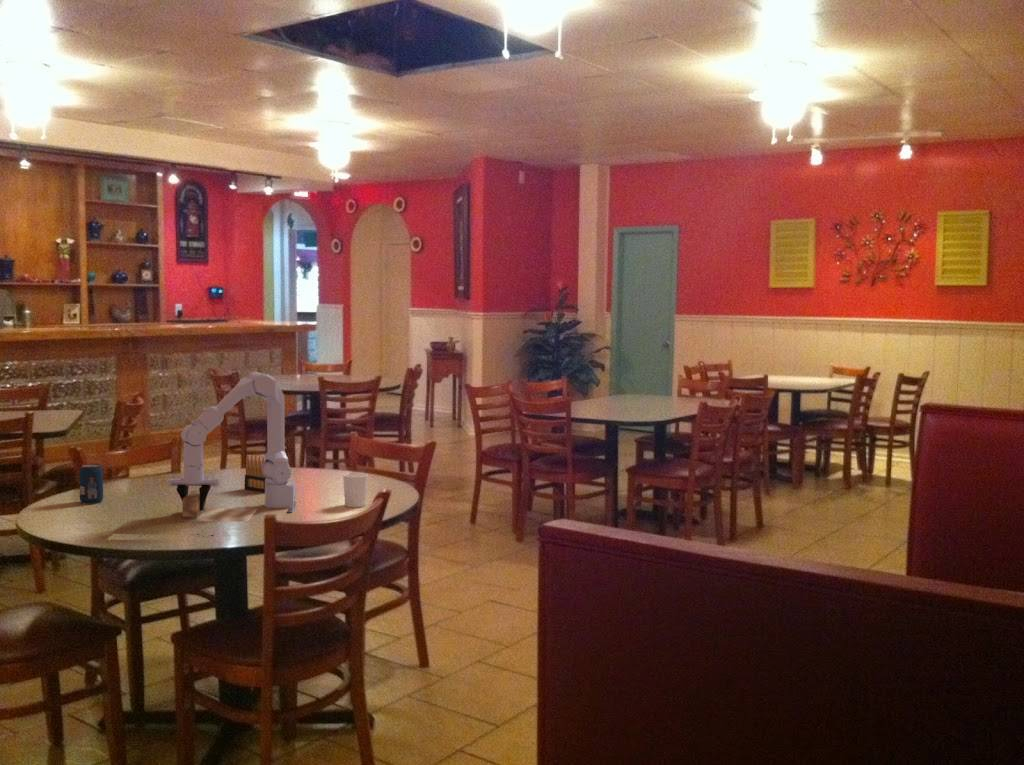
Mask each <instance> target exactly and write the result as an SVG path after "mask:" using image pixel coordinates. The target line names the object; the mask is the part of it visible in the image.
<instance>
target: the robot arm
mask: <svg viewBox="0 0 1024 765" xmlns="http://www.w3.org/2000/svg"><path fill="white" fill-rule="evenodd" d="M256 394H257V395H259V397H261V398H262V399H263V400H264V401H266V417H267V418H266V422H267V423H266V424H267V427H266V430H267V436H266V438H267V439H266V440H267V441H266V442H267V446H266V447H267V451H266V454H265V455H264V459H265V461H264V464H263V466H262V472H263V475H264V476H265V477H266V479H265V493H264V507H265V508H269V509H280V508H283V509H286V508H287V511H286V513H293V512H294V511H295V509H296V507H297V501H296V500H297V498H296V497H297V496H296V495H297V491H296V490H297V488H296V482H294V481H293V482H291V481H289V479H290V478H291V476H292V468H291V466H290V465H289V458H288V456H287V454H286V450H285V446H286V444H285V443H286V441H285V440H286V438H285V434H286V433H285V430H286V428H285V424H286V423H285V394H284V392H283V391H282V390H281V388H280V386H279V384H278V382H277V379H275V377H273V376H272V375H270V374H268V373H261V372H259V371H255V370H254V371H251V372H248V373H247V374H246V376H244V377H243V378H241V379H240V380H239V381H238V382H237V384H236V385H235V386H234V387H233V388H232V389H231V390H230V391H229V392H228V393H227V394H226V395H225V396H224V397H223V398H222V399H221V400H220V401H219V403H217V404H216V405H215V406H213V405H212V406H211V405H210V406H208V407H204V408H203V409H202V411H203V412H202V413H201V414H200V415H199V416H198V417H196V418H195V419H192V420H191V422H190V423H191V424H187V425H186V426H184V427H183V428H182V431H181V433H180V435H179V436H180V438H181V440H182V442H183V452H182V453H183V478H182V477H181V478H169V479H168V481H167V486H168V487H174V486H175V487H176V492H177V493H178V495H179V497H180V499H181V500H180V501H182V499H183V498H184V497H185V496H187V495H188V494H189V487H199V488H198V491H199V492H200V510H203V509H204V505H205V501H207V497H208V494H209V492H210V490H211V488H212V487H217V488H218V487H219V486H220V478H209V477H207V478H206V477H205V472H204V471H205V469H204V463H205V462H204V461H205V460H204V443H205V442H206V440H207V435H210V433H212V431H214V429H216V427H218V426H219V425H220V424H221V423H222V422H223V421H224V418H225V417H224V416H225V414H226V413H227V412H228V411H229V410H230V409H232V408H233V407H235V405H236V404H238V403H239V401H241V400H242V399H243V398H245V397H251V396H255V395H256Z"/></svg>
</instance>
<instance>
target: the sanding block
mask: <svg viewBox="0 0 1024 765" xmlns="http://www.w3.org/2000/svg"><path fill="white" fill-rule="evenodd" d="M206 501H207V500H206ZM206 501H205V505H204V509H203V510H200V492H199V490H191V491H189V492H188V495H187V496H185V497H184V498H183V499H182V500H181V503H182V520H187V519H197V518H198V517H199V516H200V515H201V514H202V513H203V512H204V511H205V510H206V509H207V505H206V503H207V502H206Z"/></svg>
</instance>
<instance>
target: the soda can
mask: <svg viewBox="0 0 1024 765" xmlns="http://www.w3.org/2000/svg"><path fill="white" fill-rule="evenodd" d="M103 472H104V471H103V468H102V467H101V464H100V463H85V464H81V465H80V469H79V473H78V474H79V475H78V476H79V477H78V478H79V481H78V482H79V500H80V502H81V504H83V505H95V504H100V503H102V501H103V499H104V474H103Z"/></svg>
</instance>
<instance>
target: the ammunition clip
mask: <svg viewBox="0 0 1024 765" xmlns="http://www.w3.org/2000/svg"><path fill="white" fill-rule="evenodd" d="M264 461H265V456H263V457H262V458H261V456H258V457H257V456H256V455H255V456H253V455H251V456H250V455H249V454H247V456H246V461H245V462H246V464H245V475H244V490H247V491H252V492H259V493H264V494H265V479H266V477H265V476H264V475H263V472H262V466H263V464H264Z"/></svg>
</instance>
